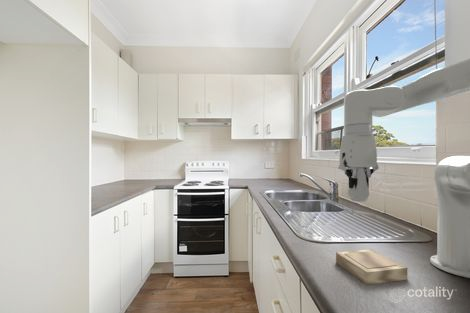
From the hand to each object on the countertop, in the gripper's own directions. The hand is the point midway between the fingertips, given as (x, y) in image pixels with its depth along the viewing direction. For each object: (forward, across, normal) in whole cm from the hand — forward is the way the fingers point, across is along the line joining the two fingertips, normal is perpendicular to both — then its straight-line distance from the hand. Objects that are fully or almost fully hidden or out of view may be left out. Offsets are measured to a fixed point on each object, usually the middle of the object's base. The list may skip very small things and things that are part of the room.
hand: (358, 190), depth 73 cm
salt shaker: (+3, 0, 0) cm, 3 cm away
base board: (+21, +3, +8) cm, 23 cm away
